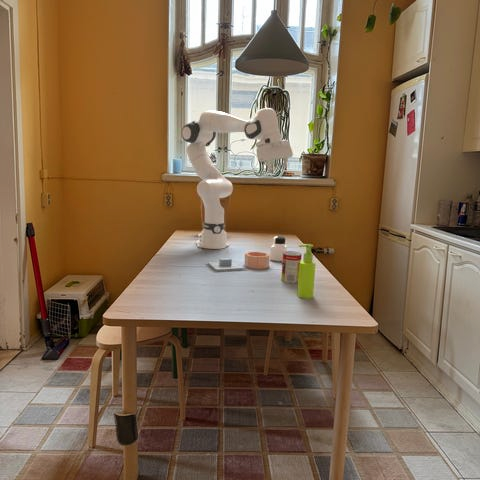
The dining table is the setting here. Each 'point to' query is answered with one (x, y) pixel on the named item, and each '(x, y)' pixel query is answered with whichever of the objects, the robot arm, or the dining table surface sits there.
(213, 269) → the mat
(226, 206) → the pancake mix bag
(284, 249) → the medicine bottle
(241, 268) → the lid
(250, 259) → the bowl
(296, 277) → the canned food
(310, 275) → the soap dispenser
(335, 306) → the dining table surface
